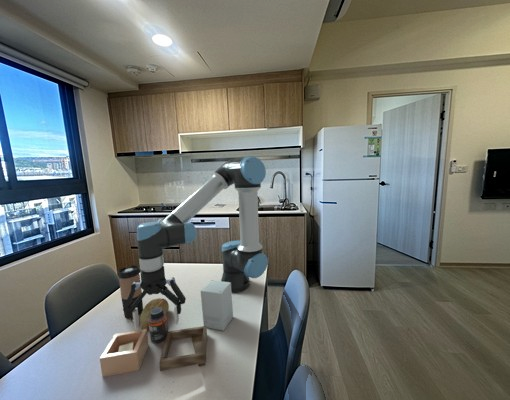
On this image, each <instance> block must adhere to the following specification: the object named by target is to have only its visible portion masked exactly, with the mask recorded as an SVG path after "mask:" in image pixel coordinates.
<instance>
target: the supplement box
mask: <svg viewBox="0 0 510 400" xmlns="http://www.w3.org/2000/svg"><path fill="white" fill-rule="evenodd" d="M232 294H233V293H232V292H231V282H222V281H221V280H213V279H212V280H211V281H209V283H207V284H206V285H205V286H203V288H202V289H200V298H201V310H202V311H201V312H202V321H203V326H206V328H207V329H208V328H209V329H214V330H218V331H225V329H226V328H227V327H228V325H229V324H230V322H231V321H232V320H233V317H234V310H233V296H232Z"/></svg>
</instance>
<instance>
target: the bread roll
mask: <svg viewBox="0 0 510 400" xmlns="http://www.w3.org/2000/svg"><path fill="white" fill-rule="evenodd" d="M168 302H169V301H168V300H167V299H165V298H160V297H159V298H154V299H152V300H150V301H149V302H147V304H145V305H144V306H143V311H142V313H141V314H140V315H139V316H140V317H139V325H140V327H141V328H142V330H144V329H147V331H150V329H149V318H150V316H151V311H152V310H153V309H155V308H158V307H161V308H162V309H163V312H164V313H165V314H166V315H167V313H168V312H169V308H170V305H169V303H168Z"/></svg>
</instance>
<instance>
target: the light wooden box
mask: <svg viewBox="0 0 510 400" xmlns="http://www.w3.org/2000/svg"><path fill="white" fill-rule="evenodd" d="M148 338H149V337H148V330H147V329H139V330H138V329H137V330H133V331H132V330H131V331H126V332H120V333H118V332H117V333H114V334H113V336H112V337H111V339H110V340H109V342H108V344H107V346H106V348H105V349H104V351H102V352H103V353H102V354H101V356H100V357H99V363H100V370H101V377H102V378H103V377H109V376H115V375H119V374H120V375H122V374H125V373H131V372H132V373H133V372H136V371H137V372H138V371H140V368H141V366H142V363H143V360H144V359H145V356H146V352H147V350H148V348H149V339H148ZM131 342H133V343H134V350H129V351H123V352H118V351H119V346H122V345H125V344H128V343H131Z"/></svg>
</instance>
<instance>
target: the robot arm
mask: <svg viewBox="0 0 510 400" xmlns="http://www.w3.org/2000/svg"><path fill="white" fill-rule="evenodd" d="M266 175H267V170H266V166H265V164H264V163H263V161H262V160H261V159H260V158H259V157H256V156H243V157H242V156H241V157H236V158H235V157H234V158H231V159H229V160H227V161H225V162H224V163H223V164H222V165H221V166H220V167H218V168H217V169H216V170H215V171H214V172H213V173H212V174H211V178H209V179H208V180H207V181H206V182H205V183H203V185H201V186H200V187H199V188H198V189H197V190H195V191H194V192H193V193H192V194H191V195H190V196H189V197H188V198H186V199H185V200H184V201H183V202H181V204H179V206H177V207H176V208H175V209H174V210H173V211H172V212H171V213H170V214H168V215H167V216H166V217H162V218H159V219H158V220H157V221H148V222H143V223H140V224H139V225H137V226H136V227H137V228H136V240H137V241H136V242H137V250H138V261H139V262H138V263H139V274H140V282H141V283H137V281H134V283H133V284H132V285H131V292H130V294H129V297H128V299H127V301H126V303H125V306H124V308H123V307H122V311H123V312H124V311H129V312H130V318H129V319H130V321H132V322H133V331H138V328H139V326H140V317H139V316H138V308H135V307H136V306H137V305H138V304H139V302H140V301H141V300H142V301H143V299H144V297H145V296H146V295H151V296H152V295H159V294H161V295H162V296H164V297H166V298H167V299H168V300H169V301H170V302H171V303H173V304H174V308H173V309H174V323H175V325H178V324H179V319H180V316H179V315H180V314H181V312H182V305H184V304H186V298H187V297H186V296H185V295H184V293H183V292H182V290H181V289H180V287H179V285H178V284H177V283H176V279H175V277H171V278H170V279H166V274H165V266H164V265H165V263H164V262H165V261H164V250H163V249H166V248H167V249H168V248H172V247H177V246H182V245H184V244H190V243H191V242H194V241H195V240H196V239H197V229H196V226H195V224H194V223H193V222H190V220H192V219H193V218H194V217H195V216H196V215H197V214H198V213H199V212H200V211H201V210H202V209H203V208H204V207H205V206H207V204H209V203H210V202H211V201H212V200H213V199H214V198H215V197H216V196H217V195H219V194H220V192H221V191H222V190H227V189H228V188H229V187H230V186H232V185H234V189H235V190H236V191H237V193H238V195H237V196H238V213H239V214H238V216H239V217H238V218H239V220H238V221H239V240H238V239H237V240H230V241H227V242H225V243H223V244H222V245H221V256H222V257H221V258H222V271H223V273H222V276H221V279H220V281H222V282H231V292H232V294H233V293H241V292H243V291H245V290H247V289H249V287H250V285H251V279H257V278H259V277H261V276H262V275H263V274H265V271H266V270H267V268H268V264H269V259H268V257H267V256H266V254H265V253H263V251H264V250H263V245H262V244H261V243H260V235H259V196H258V191H259V190H260V189H261V187H262V182H264V180H265V178H266ZM250 278H251V279H250ZM166 285H168V286H169V287H170V288H171V290H172V291H173V292H172V291H171V290H170V289H169V288H168V286H166ZM139 287H141V290H143V291H142V293H141V294H140V296H139V297H138V298H137V300H136V301H135V302H134V303H133V305H132V306H131V305H130V303H131V301H132V299H133V296H134V294H135V292H136V290H137V289H138V288H139Z"/></svg>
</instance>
